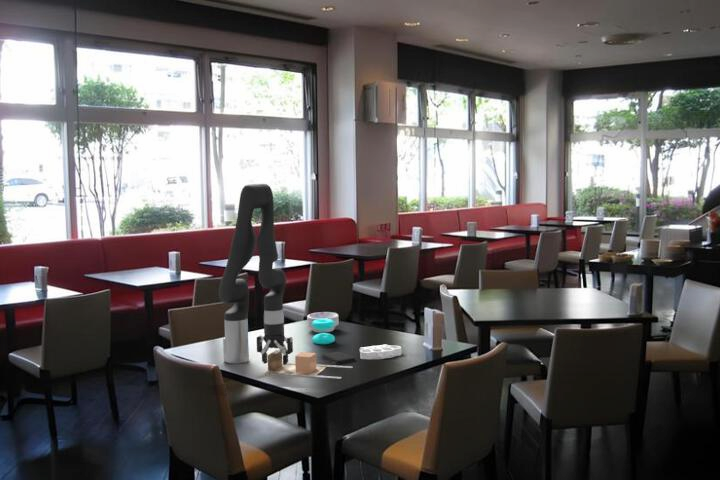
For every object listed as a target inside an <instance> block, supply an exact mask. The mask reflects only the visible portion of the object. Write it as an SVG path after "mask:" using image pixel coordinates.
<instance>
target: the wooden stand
mask: <svg viewBox="0 0 720 480" xmlns="http://www.w3.org/2000/svg"><path fill="white" fill-rule="evenodd" d="M326 368H327V367H324V366H316V369H315V370H314V371H313V372H311V373H303V372H296V366H295V365H291V364H286V365H283V353H282V352H281V351H280V350H279V349H275V350H274V351H272V352H271V353H269V354H267V370H266V372H264V375H265V376H268V375H269V374H268V373H269V372H271V373H286V374H301V375H317V376H318V375H319V374H320V373H321V372H322V371H324V370H325V369H326Z"/></svg>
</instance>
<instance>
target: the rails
mask: <svg viewBox="0 0 720 480" xmlns="http://www.w3.org/2000/svg"><path fill="white" fill-rule="evenodd" d="M287 365H295V362H288V363H287ZM316 366H320V367H326V368H327V367H328V368H340V369H342V368H343V369H353V366H349V365H335V364H333V365H332V364H319V363H318V364H317V363H316ZM268 375H276V376H277V375H278V376H292V377H307V378H322V379H337V380H340V379H342V376H333V375H331V376H330V375H329V376H328V375H318V374H317V375H301V374H286V373H271V372H269V373H268Z"/></svg>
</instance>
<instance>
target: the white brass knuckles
mask: <svg viewBox="0 0 720 480" xmlns="http://www.w3.org/2000/svg"><path fill="white" fill-rule="evenodd" d="M359 355H360V357H359V358H360V359H361V360H384V359H391V358H394V357H397V356H399V357H400V356H402V347H401V346H400V345H389V344H385V343H383V344H380V345H371V346H364V347H362V346H361V347H360V348H359Z"/></svg>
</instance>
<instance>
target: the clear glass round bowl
mask: <svg viewBox="0 0 720 480" xmlns="http://www.w3.org/2000/svg"><path fill="white" fill-rule="evenodd" d="M306 319H307V320H306V321H307V322H306V323H307V324H306V325H307V327H308V328H310V329H311V330H312V331H313V333H317V334H321V333H328V334H329V333H331V332H333V331H334V330H335V329H336V327H337V326H339V324H340V321H339V320H340V319H339V314H338V313H337V312H331V311H322V312H321V311H320V312H319V311H318V312H313V313H310V314H308V315H307V316H306ZM317 319H331V320H333V321H334V326H333V327H332V328H330V329H325V330H320V329H316V328H314V327H313V326H312V322H313V321H314V320H317Z"/></svg>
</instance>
